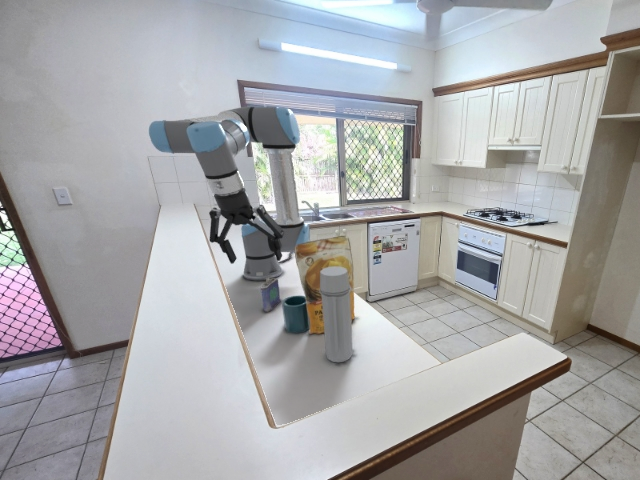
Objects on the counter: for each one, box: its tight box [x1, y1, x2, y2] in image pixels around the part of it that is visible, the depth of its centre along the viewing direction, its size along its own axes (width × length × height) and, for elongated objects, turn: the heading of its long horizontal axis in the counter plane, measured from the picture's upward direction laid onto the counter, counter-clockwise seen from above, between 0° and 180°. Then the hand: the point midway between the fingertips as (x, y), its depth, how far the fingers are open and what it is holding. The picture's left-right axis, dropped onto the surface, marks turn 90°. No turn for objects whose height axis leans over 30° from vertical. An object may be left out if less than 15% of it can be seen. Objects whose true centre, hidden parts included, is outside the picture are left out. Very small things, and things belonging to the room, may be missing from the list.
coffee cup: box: [281, 295, 310, 334], centre depth 102 cm, size 8×8×9 cm
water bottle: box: [319, 266, 354, 363], centre depth 84 cm, size 9×8×25 cm
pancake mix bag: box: [293, 235, 356, 335], centre depth 100 cm, size 7×19×28 cm, turn 129°
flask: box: [260, 277, 281, 313], centre depth 114 cm, size 9×3×11 cm, turn 172°
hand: (256, 259), depth 96 cm, fingers open, 13 cm apart
